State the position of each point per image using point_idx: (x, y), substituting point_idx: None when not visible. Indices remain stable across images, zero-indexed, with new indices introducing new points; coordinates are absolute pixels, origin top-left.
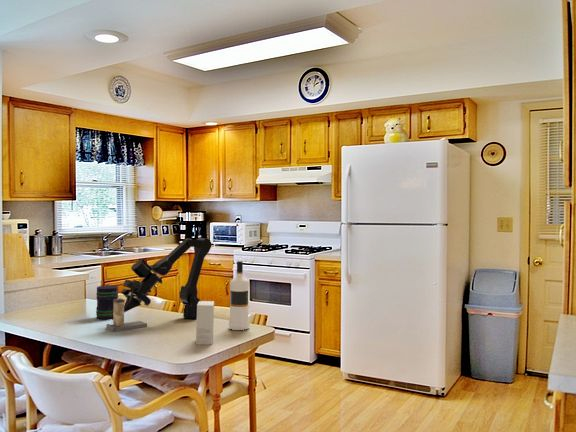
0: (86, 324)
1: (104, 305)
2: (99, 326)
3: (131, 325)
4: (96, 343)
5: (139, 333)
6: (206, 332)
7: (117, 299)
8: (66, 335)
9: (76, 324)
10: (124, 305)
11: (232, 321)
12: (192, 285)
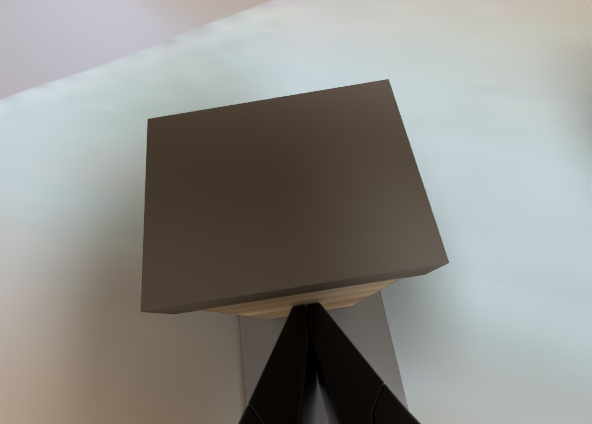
0: (565, 125)
1: None
2: (462, 185)
3: (247, 389)
4: (40, 100)
5: (67, 392)
6: None
7: (319, 155)
8: (296, 14)
9: (583, 76)
10: (350, 361)
11: None
12: None
